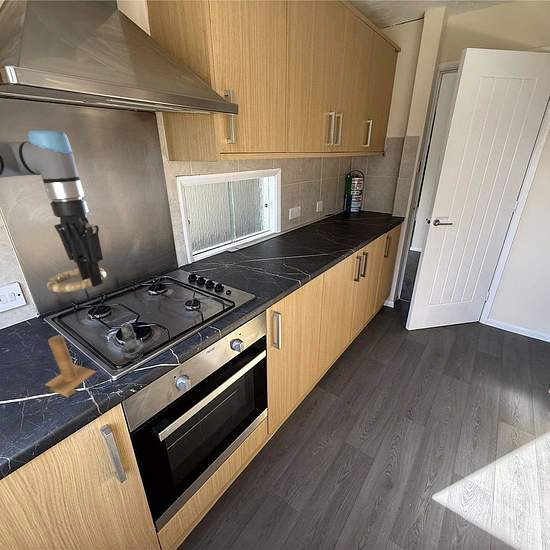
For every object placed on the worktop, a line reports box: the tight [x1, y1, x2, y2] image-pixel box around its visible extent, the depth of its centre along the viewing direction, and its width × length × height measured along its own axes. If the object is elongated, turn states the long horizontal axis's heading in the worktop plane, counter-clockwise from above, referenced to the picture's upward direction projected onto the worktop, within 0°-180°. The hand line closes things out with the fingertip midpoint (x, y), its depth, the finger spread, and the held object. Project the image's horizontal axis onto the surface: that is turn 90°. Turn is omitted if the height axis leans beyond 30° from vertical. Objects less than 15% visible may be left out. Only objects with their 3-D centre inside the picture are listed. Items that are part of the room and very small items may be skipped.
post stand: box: [44, 334, 97, 398], centre depth 73 cm, size 8×8×14 cm
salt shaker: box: [120, 321, 144, 362], centre depth 82 cm, size 6×6×12 cm
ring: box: [46, 267, 107, 294], centre depth 84 cm, size 14×14×2 cm
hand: (93, 283), depth 83 cm, fingers closed on ring, 2 cm apart
